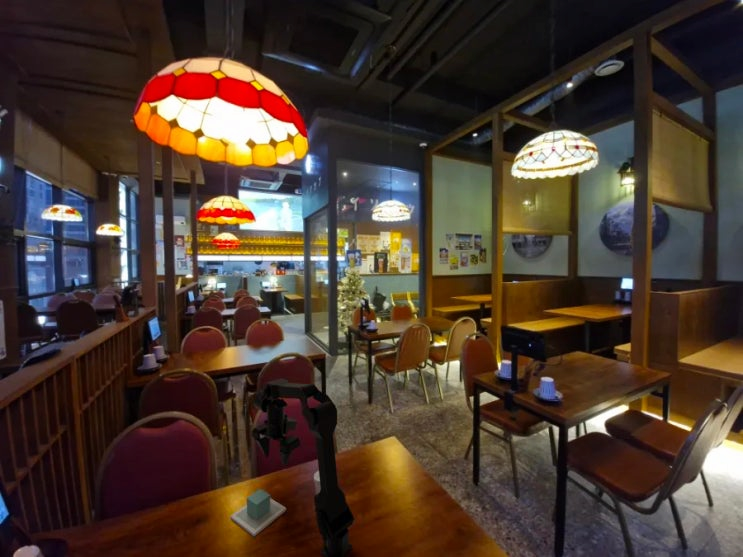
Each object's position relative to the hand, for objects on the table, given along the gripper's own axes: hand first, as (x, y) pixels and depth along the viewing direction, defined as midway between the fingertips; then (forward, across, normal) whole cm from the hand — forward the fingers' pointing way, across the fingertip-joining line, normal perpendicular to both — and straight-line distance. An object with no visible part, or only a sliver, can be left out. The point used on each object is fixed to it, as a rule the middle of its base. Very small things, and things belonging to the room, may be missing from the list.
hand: (275, 461), depth 108 cm
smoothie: (+12, -16, -6) cm, 21 cm away
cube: (+11, -2, +9) cm, 14 cm away
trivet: (+12, -2, +9) cm, 15 cm away
